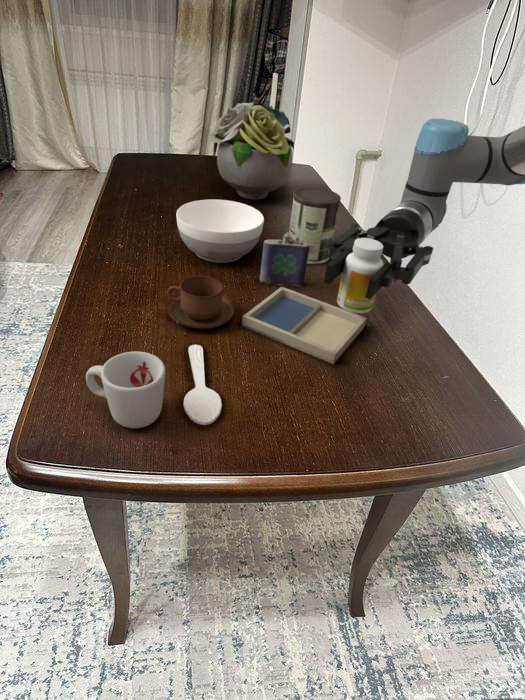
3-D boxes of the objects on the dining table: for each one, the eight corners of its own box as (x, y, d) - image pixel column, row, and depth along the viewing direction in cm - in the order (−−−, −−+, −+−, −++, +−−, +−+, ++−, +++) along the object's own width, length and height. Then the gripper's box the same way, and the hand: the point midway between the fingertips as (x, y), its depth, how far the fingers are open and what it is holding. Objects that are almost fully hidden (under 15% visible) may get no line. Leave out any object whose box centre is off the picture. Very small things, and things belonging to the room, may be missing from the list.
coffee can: (319, 244, 119) (329, 186, 111) (336, 263, 111) (348, 202, 103) (279, 245, 116) (287, 186, 108) (294, 265, 109) (303, 203, 100)
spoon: (211, 346, 81) (211, 343, 81) (224, 423, 67) (224, 420, 67) (178, 347, 80) (178, 344, 80) (185, 426, 66) (185, 423, 66)
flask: (259, 284, 100) (264, 234, 94) (259, 277, 103) (264, 228, 96) (304, 287, 101) (312, 238, 95) (302, 280, 103) (310, 232, 97)
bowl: (245, 233, 121) (248, 198, 115) (272, 268, 107) (277, 230, 102) (168, 237, 114) (168, 200, 109) (187, 275, 100) (187, 235, 95)
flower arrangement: (196, 184, 147) (197, 93, 132) (269, 179, 157) (277, 94, 143) (231, 214, 130) (237, 114, 115) (310, 206, 140) (324, 113, 126)
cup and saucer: (168, 336, 82) (167, 304, 79) (165, 299, 92) (165, 270, 88) (239, 333, 85) (241, 303, 81) (229, 298, 94) (230, 269, 91)
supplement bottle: (380, 310, 72) (397, 249, 66) (351, 317, 69) (366, 254, 64) (357, 292, 75) (371, 233, 70) (329, 299, 73) (341, 238, 67)
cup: (75, 422, 65) (67, 376, 60) (105, 385, 71) (99, 341, 66) (152, 442, 63) (149, 395, 59) (175, 402, 70) (174, 358, 65)
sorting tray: (364, 327, 91) (366, 318, 89) (333, 364, 80) (335, 354, 79) (280, 295, 97) (281, 286, 96) (241, 326, 87) (242, 316, 86)
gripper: (450, 268, 81) (407, 329, 64) (347, 236, 87) (284, 284, 71) (465, 224, 76) (424, 278, 59) (356, 194, 83) (291, 235, 66)
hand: (348, 281), depth 65 cm, fingers closed on supplement bottle, 5 cm apart
